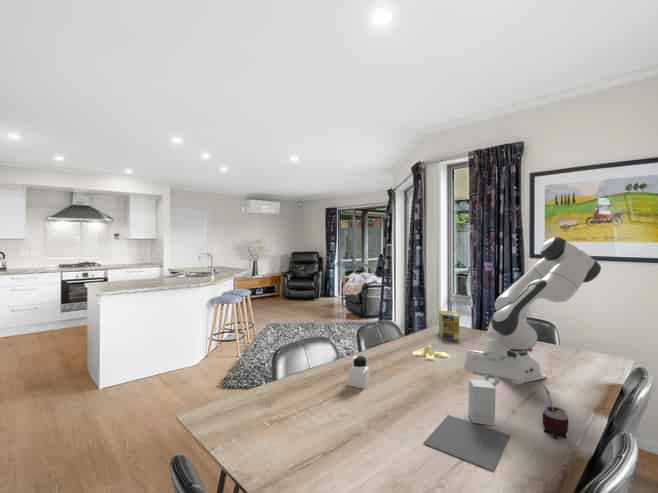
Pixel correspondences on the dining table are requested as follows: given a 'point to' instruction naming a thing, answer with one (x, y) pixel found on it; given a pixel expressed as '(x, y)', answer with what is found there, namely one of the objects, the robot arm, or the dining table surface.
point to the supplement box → (481, 402)
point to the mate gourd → (554, 419)
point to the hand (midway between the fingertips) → (490, 388)
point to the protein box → (449, 325)
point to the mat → (469, 442)
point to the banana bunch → (429, 353)
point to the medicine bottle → (359, 372)
